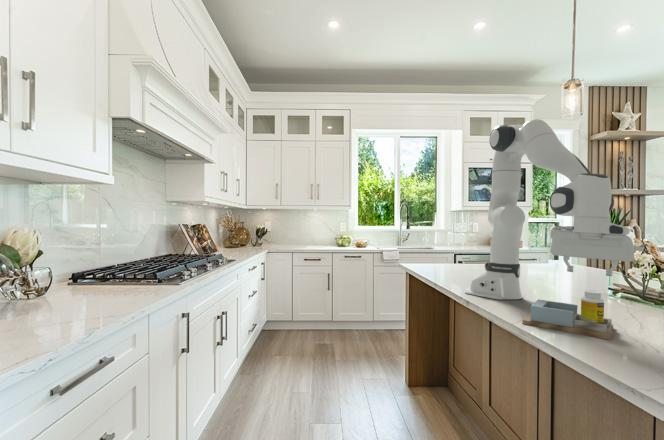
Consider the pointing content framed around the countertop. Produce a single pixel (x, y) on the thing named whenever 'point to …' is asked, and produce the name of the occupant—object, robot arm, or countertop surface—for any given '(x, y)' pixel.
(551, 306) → the box
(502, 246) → the robot arm
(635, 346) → the countertop surface
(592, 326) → the board
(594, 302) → the supplement bottle
